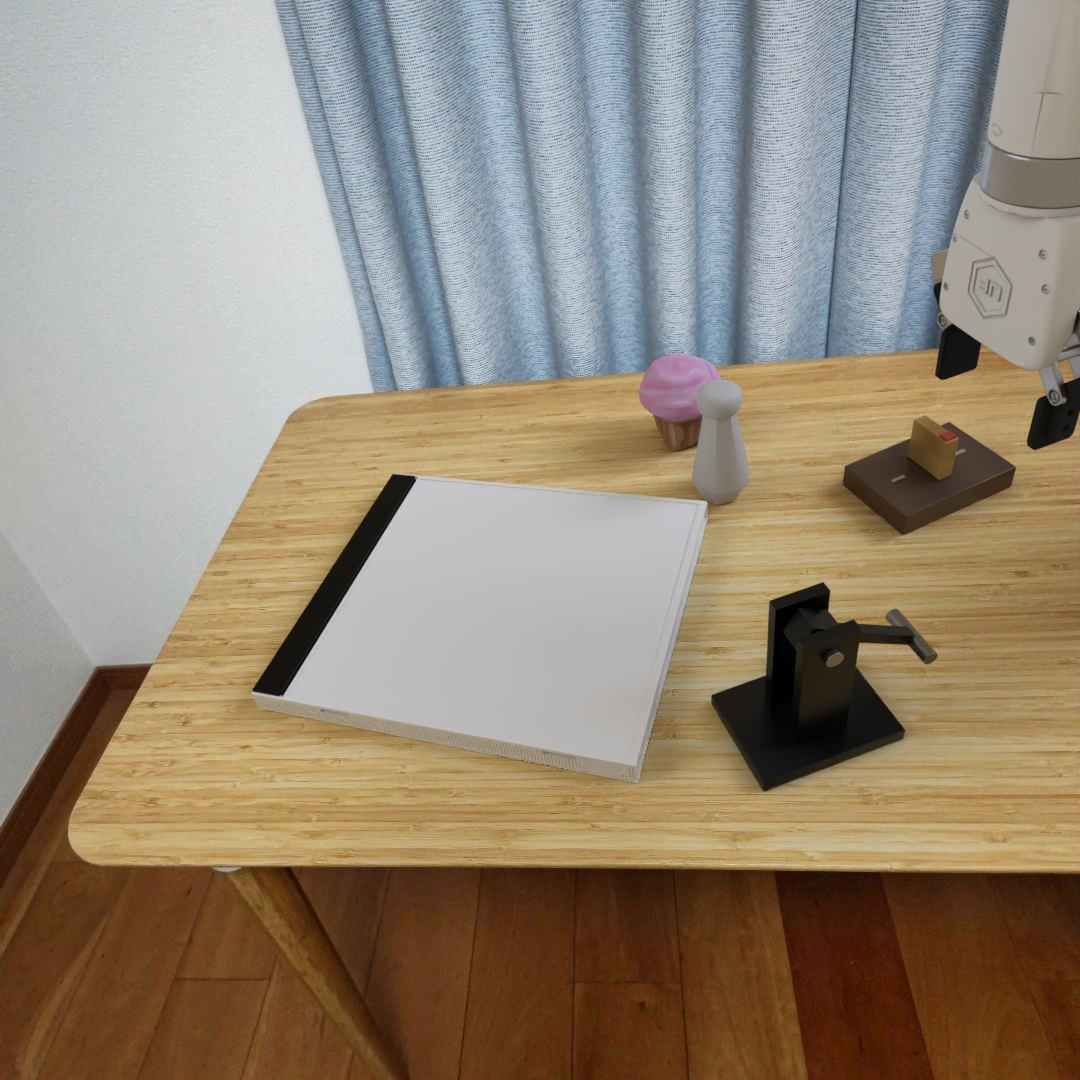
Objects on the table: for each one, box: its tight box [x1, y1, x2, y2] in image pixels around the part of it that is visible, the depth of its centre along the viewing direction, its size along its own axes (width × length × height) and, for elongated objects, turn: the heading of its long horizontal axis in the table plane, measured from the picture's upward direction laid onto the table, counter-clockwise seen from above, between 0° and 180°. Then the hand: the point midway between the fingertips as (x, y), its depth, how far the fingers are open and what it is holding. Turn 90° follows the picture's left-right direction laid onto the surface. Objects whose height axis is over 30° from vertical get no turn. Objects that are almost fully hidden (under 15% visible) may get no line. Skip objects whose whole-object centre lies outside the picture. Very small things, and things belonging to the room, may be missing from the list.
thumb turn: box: [908, 415, 959, 480], centre depth 87 cm, size 4×1×5 cm, turn 24°
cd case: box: [250, 472, 709, 784], centre depth 85 cm, size 35×2×31 cm
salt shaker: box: [691, 378, 751, 506], centre depth 89 cm, size 6×6×13 cm
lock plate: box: [842, 421, 1017, 536], centre depth 89 cm, size 13×9×3 cm
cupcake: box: [638, 352, 722, 451], centre depth 98 cm, size 9×9×10 cm
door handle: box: [783, 608, 939, 665], centre depth 67 cm, size 12×5×2 cm, turn 108°
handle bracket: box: [710, 581, 906, 792], centre depth 68 cm, size 12×9×13 cm
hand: (999, 405), depth 64 cm, fingers open, 9 cm apart
